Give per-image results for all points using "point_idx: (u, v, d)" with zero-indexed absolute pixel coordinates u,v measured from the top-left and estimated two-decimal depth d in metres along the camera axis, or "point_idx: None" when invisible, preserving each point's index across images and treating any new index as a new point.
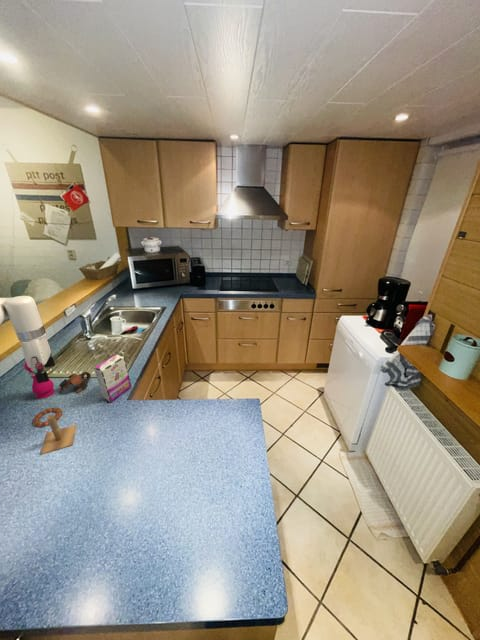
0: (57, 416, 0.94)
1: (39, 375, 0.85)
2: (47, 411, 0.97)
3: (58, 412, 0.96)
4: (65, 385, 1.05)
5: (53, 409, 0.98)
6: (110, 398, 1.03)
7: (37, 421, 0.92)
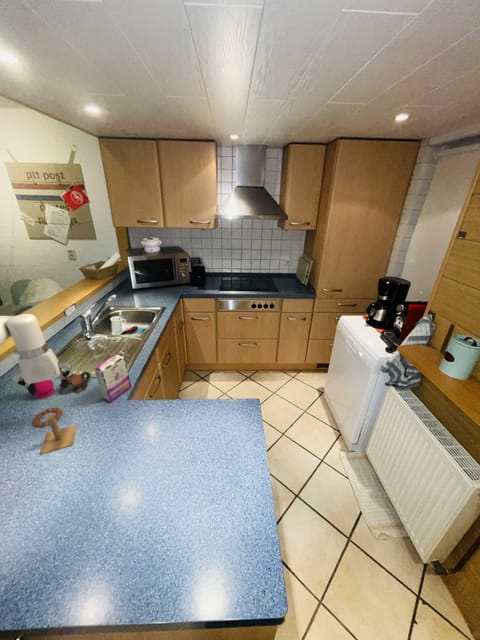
0: (57, 416, 0.94)
1: (66, 378, 0.92)
2: (47, 411, 0.97)
3: (58, 412, 0.96)
4: None
5: (53, 409, 0.98)
6: (110, 398, 1.03)
7: (37, 421, 0.92)
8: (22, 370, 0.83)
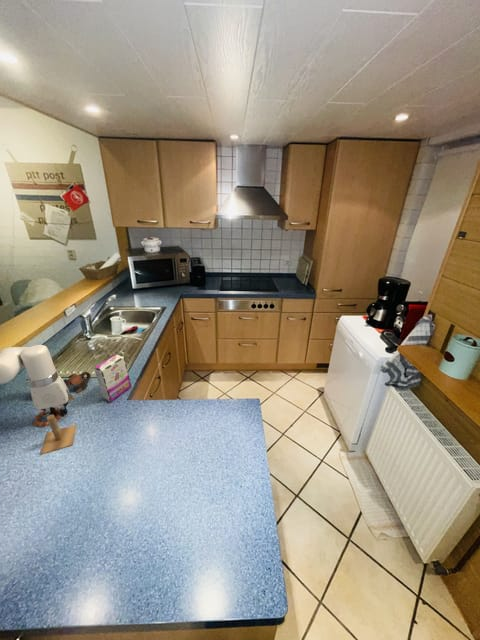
0: (58, 416, 0.95)
1: (65, 408, 0.96)
2: None
3: (59, 412, 0.96)
4: None
5: None
6: (110, 398, 1.03)
7: (38, 421, 0.92)
8: (33, 397, 0.88)
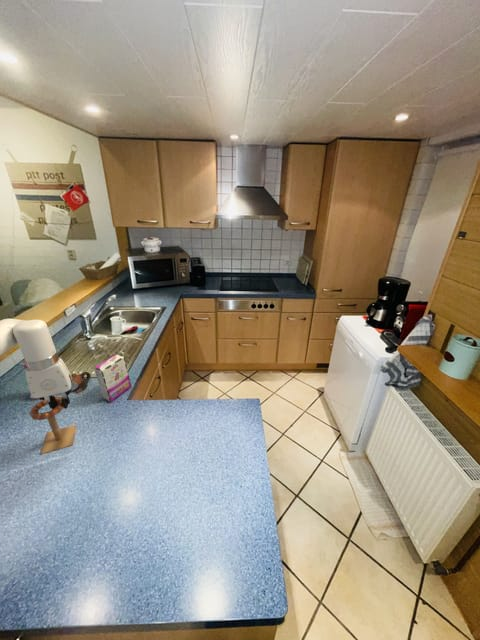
0: (59, 406, 0.80)
1: (67, 397, 0.81)
2: None
3: (60, 401, 0.82)
4: None
5: None
6: (110, 398, 1.03)
7: (35, 412, 0.78)
8: (29, 383, 0.73)
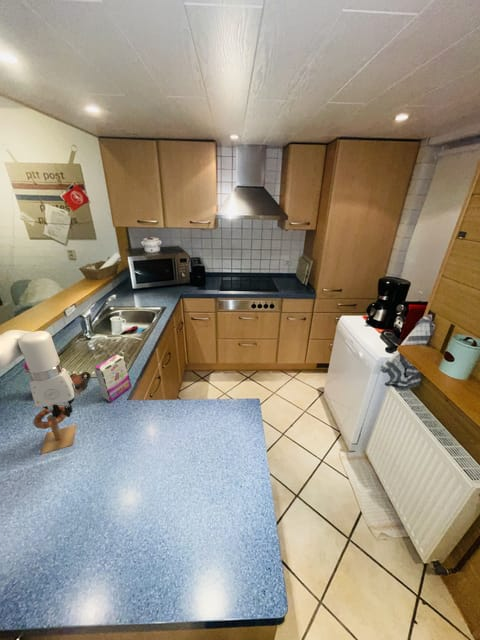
0: (62, 415, 0.82)
1: (70, 405, 0.83)
2: None
3: (63, 410, 0.83)
4: None
5: None
6: (110, 398, 1.03)
7: (39, 420, 0.79)
8: (33, 393, 0.75)
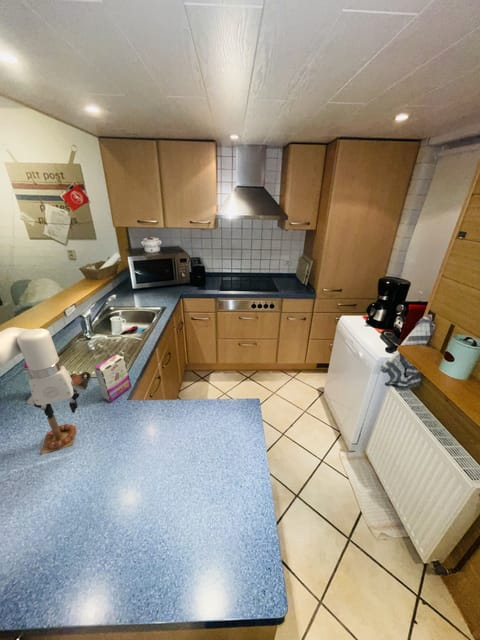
0: (71, 434, 0.85)
1: (75, 401, 0.83)
2: None
3: (71, 429, 0.87)
4: None
5: (66, 426, 0.88)
6: (110, 398, 1.03)
7: (49, 441, 0.83)
8: (32, 391, 0.74)
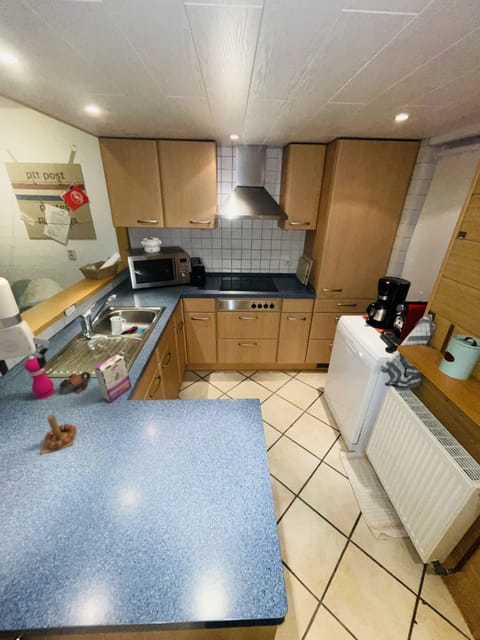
0: (71, 434, 0.85)
1: (43, 357, 0.80)
2: None
3: (71, 429, 0.87)
4: (65, 385, 1.05)
5: (66, 426, 0.88)
6: (110, 398, 1.03)
7: (49, 441, 0.83)
8: None
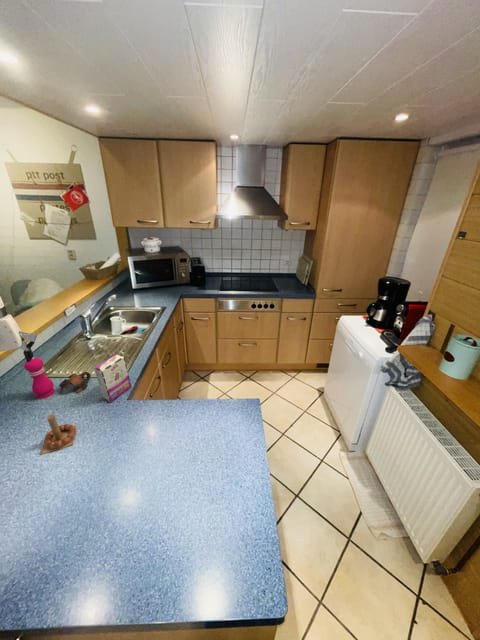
0: (71, 434, 0.85)
1: (30, 350, 0.81)
2: None
3: (71, 429, 0.87)
4: (65, 385, 1.05)
5: (66, 426, 0.88)
6: (110, 398, 1.03)
7: (49, 441, 0.83)
8: None
